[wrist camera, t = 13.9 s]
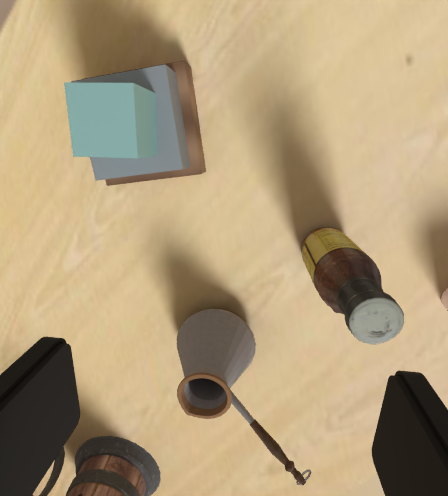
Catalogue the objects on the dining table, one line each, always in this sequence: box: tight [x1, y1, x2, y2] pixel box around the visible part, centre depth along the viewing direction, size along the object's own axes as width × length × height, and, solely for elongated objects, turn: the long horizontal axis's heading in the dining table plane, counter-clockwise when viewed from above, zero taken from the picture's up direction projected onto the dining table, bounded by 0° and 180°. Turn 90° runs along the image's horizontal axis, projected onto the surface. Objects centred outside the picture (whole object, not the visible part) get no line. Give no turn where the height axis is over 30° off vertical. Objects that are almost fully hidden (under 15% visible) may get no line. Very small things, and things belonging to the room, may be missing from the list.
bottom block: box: [85, 61, 206, 186], centre depth 39 cm, size 12×12×4 cm
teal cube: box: [64, 83, 158, 158], centre depth 30 cm, size 6×6×6 cm
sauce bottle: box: [302, 228, 404, 344], centre depth 33 cm, size 6×6×20 cm
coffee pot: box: [177, 308, 311, 485], centre depth 42 cm, size 21×12×15 cm, turn 51°
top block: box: [71, 65, 190, 180], centre depth 35 cm, size 10×10×4 cm
